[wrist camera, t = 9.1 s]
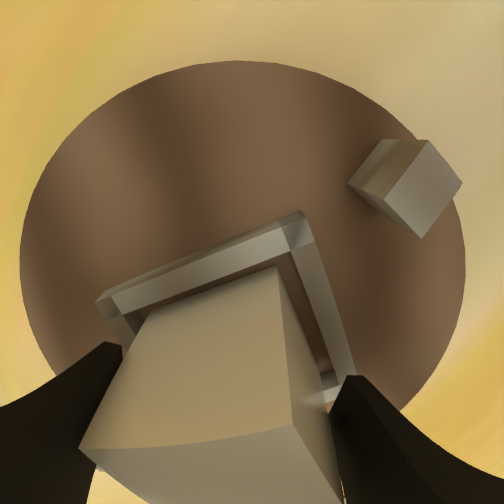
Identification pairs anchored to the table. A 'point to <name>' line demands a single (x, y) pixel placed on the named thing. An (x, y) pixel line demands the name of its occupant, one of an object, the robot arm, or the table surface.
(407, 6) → the table surface
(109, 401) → the beige block
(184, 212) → the turntable
